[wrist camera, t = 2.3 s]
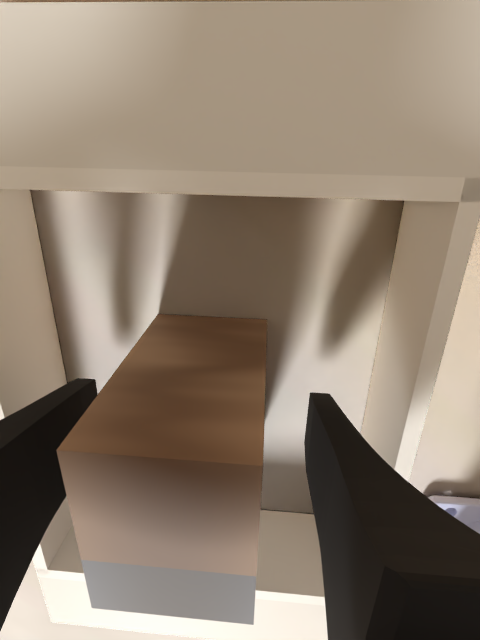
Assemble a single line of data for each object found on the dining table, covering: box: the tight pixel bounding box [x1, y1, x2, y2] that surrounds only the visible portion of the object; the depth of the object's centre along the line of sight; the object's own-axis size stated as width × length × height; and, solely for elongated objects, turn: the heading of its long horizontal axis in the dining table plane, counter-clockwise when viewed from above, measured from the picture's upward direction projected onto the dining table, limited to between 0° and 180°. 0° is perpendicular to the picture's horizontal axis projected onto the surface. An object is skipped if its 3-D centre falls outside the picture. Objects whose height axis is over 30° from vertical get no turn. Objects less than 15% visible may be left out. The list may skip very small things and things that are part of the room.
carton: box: [0, 0, 480, 640], centre depth 13 cm, size 13×21×4 cm, turn 179°
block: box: [56, 314, 267, 625], centre depth 11 cm, size 4×5×7 cm
